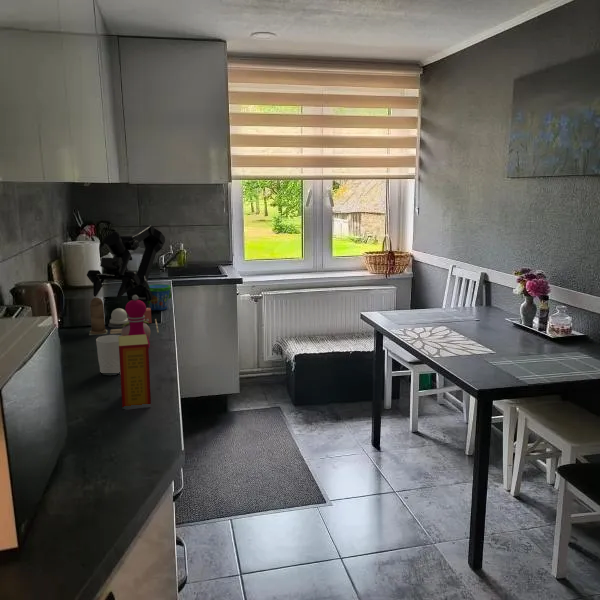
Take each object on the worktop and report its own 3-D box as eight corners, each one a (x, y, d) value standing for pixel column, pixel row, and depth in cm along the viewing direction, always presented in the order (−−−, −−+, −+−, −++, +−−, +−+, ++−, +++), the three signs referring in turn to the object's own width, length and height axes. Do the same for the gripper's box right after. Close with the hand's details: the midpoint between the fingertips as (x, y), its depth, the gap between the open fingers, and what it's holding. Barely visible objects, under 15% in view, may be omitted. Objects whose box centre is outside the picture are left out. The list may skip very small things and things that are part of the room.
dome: (110, 321, 204) (109, 307, 203) (129, 320, 206) (128, 306, 204) (109, 325, 197) (108, 310, 196) (129, 324, 199) (128, 309, 198)
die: (137, 321, 209) (137, 308, 208) (151, 320, 210) (150, 307, 209) (137, 324, 204) (137, 310, 203) (151, 323, 205) (151, 310, 204)
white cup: (130, 368, 157) (129, 334, 155) (123, 377, 149) (121, 342, 147) (103, 368, 157) (101, 334, 155) (94, 377, 149) (91, 342, 147)
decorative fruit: (131, 353, 170) (130, 323, 168) (117, 348, 176) (116, 318, 174) (157, 347, 177) (156, 318, 175) (143, 343, 183) (141, 314, 181)
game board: (88, 325, 205) (88, 321, 205) (156, 321, 212) (156, 317, 212) (84, 339, 186) (83, 334, 186) (158, 334, 194) (158, 330, 193)
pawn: (91, 330, 193) (88, 296, 190) (106, 330, 194) (104, 295, 192) (90, 334, 188) (87, 299, 185) (105, 333, 189) (103, 298, 187)
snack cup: (162, 304, 244) (161, 282, 242) (180, 307, 239) (179, 284, 237) (136, 310, 231) (135, 287, 229) (155, 313, 226) (154, 289, 224)
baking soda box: (121, 396, 136) (118, 334, 132) (148, 393, 138) (145, 332, 134) (122, 410, 127) (118, 344, 124) (151, 407, 129) (148, 342, 126)
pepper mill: (125, 363, 161) (121, 297, 157) (126, 356, 168) (122, 293, 164) (150, 361, 163) (147, 296, 159) (150, 354, 170) (147, 292, 166)
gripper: (87, 248, 199) (72, 282, 190) (135, 249, 196) (121, 284, 187) (100, 266, 208) (86, 300, 199) (145, 268, 205) (133, 302, 196)
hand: (106, 296), depth 195 cm, fingers open, 9 cm apart
